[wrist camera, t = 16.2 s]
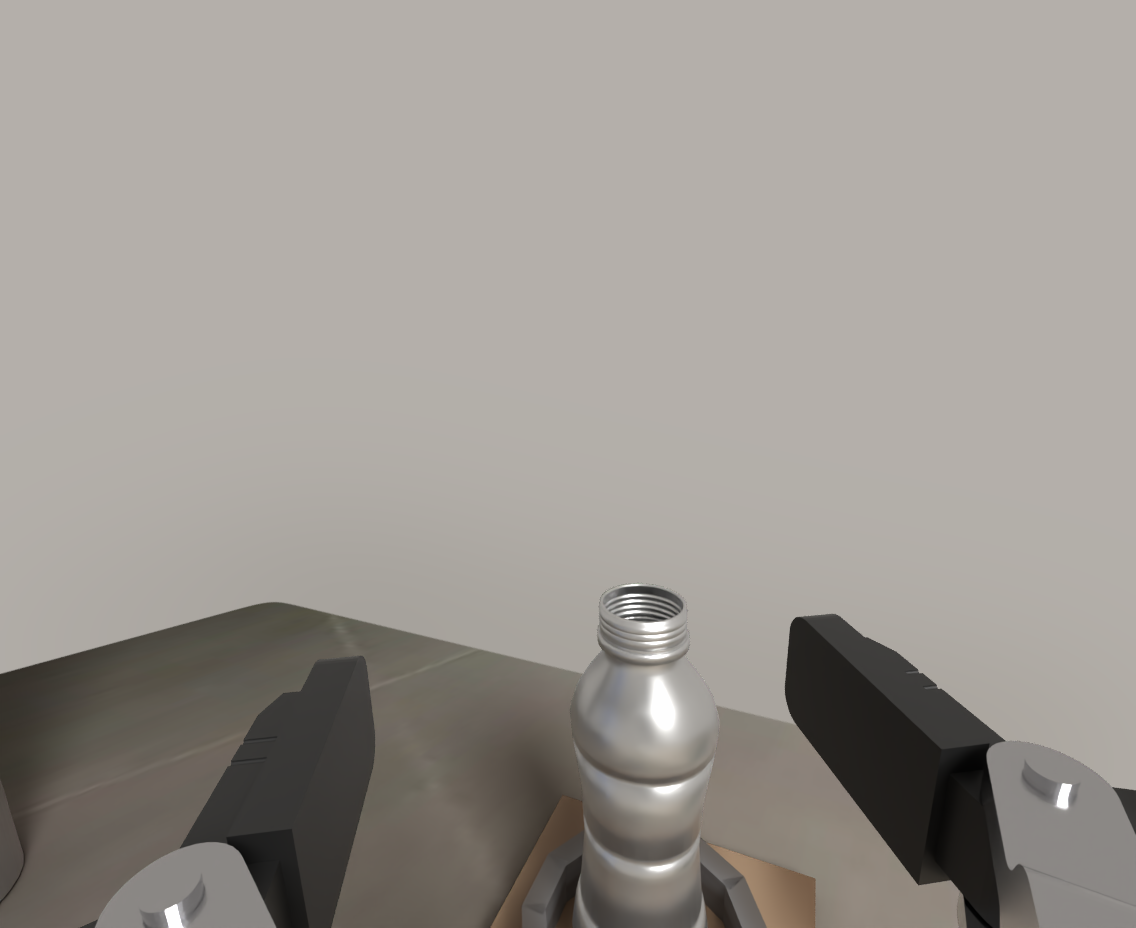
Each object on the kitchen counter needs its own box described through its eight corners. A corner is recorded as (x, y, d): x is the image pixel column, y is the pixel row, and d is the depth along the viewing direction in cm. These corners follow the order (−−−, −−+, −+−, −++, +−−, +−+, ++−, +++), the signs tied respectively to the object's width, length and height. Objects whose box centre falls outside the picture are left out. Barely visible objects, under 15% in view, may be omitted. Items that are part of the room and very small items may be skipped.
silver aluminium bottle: (615, 878, 33) (613, 558, 28) (728, 949, 29) (747, 592, 24) (547, 979, 28) (530, 611, 23) (672, 1082, 24) (683, 664, 19)
